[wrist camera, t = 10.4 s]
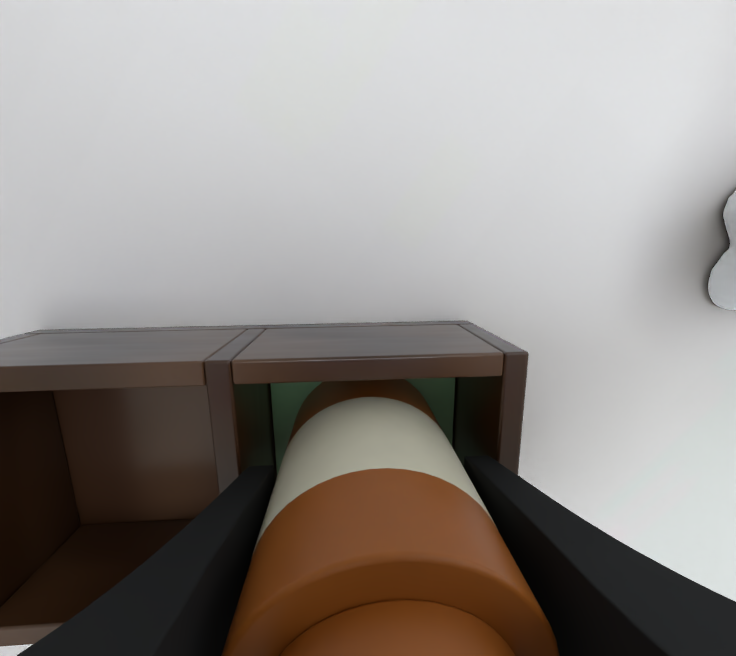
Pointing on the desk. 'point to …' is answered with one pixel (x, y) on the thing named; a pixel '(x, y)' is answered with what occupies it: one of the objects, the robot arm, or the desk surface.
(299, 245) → the desk surface
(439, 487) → the amber bottle
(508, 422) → the wooden compartment tray
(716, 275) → the rabbit
